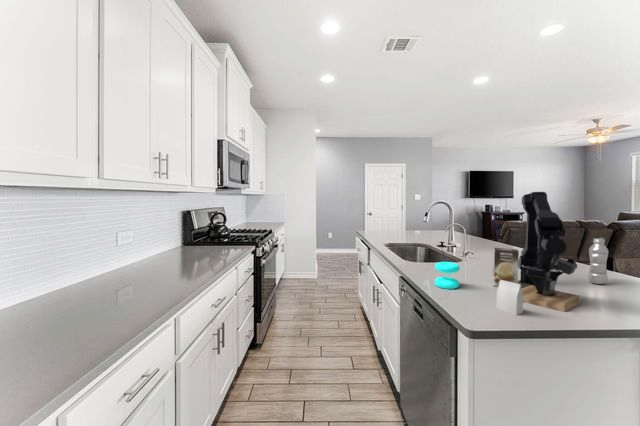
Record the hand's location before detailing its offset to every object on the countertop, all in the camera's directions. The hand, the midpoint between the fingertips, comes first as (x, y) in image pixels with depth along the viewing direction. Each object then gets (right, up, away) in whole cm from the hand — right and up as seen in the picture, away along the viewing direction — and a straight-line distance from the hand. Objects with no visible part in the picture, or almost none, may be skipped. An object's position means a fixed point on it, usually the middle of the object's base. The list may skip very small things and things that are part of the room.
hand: (546, 292), depth 117 cm
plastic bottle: (+39, -2, +23) cm, 45 cm away
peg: (0, -4, 0) cm, 4 cm away
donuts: (-28, -3, +21) cm, 35 cm away
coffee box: (-3, -3, +21) cm, 21 cm away
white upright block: (-19, -4, -9) cm, 22 cm away
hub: (0, -4, 0) cm, 4 cm away
